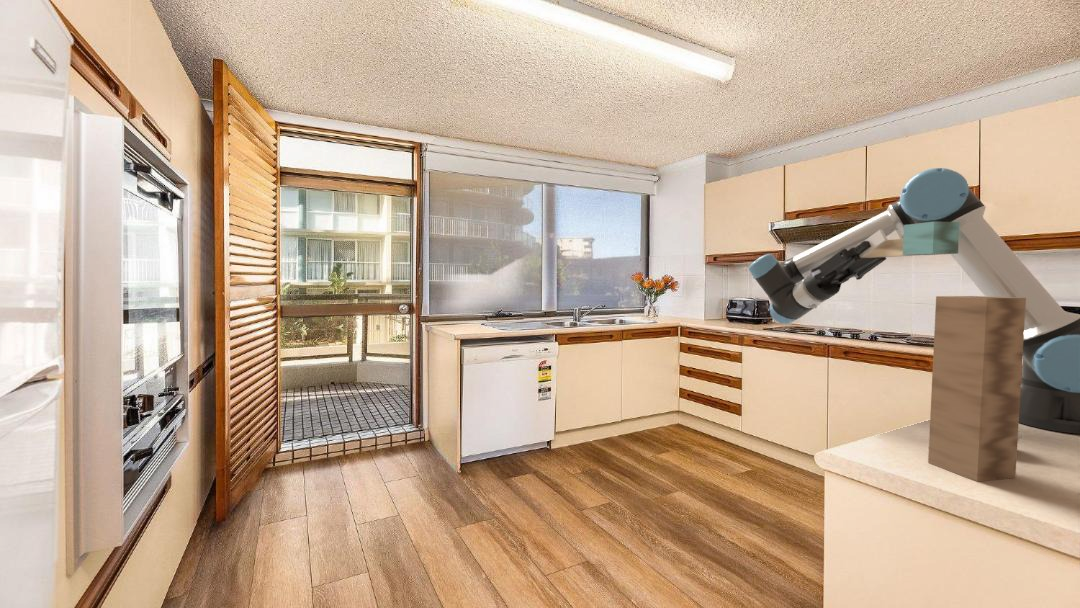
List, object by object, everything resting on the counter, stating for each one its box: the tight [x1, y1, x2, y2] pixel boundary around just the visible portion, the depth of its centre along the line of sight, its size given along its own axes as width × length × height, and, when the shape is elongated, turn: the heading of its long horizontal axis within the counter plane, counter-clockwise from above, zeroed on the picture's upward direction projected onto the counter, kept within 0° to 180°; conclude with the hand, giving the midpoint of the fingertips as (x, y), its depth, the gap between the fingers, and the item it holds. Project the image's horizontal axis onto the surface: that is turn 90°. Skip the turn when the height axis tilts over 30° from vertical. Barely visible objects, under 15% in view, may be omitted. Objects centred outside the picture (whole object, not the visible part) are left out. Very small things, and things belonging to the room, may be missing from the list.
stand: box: [927, 295, 1026, 482], centre depth 81 cm, size 8×8×30 cm
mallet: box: [858, 222, 959, 258], centre depth 99 cm, size 6×18×6 cm, turn 12°
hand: (891, 235), depth 101 cm, fingers closed on mallet, 3 cm apart
